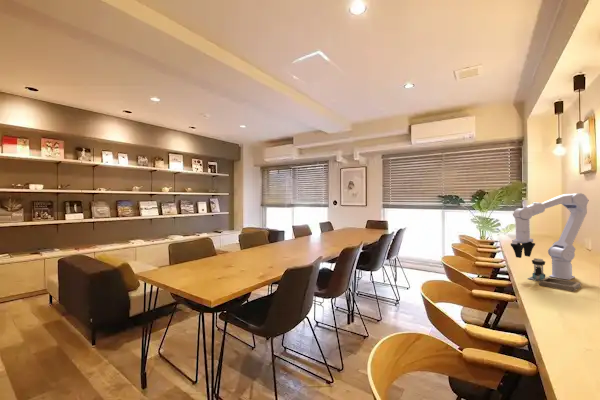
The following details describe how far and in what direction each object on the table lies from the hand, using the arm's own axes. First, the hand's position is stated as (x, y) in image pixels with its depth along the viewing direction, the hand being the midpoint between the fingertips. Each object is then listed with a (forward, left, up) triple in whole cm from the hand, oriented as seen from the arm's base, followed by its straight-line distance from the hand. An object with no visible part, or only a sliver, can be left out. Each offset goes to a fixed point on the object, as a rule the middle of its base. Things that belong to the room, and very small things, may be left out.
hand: (523, 256), depth 149 cm
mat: (0, +6, -10) cm, 12 cm away
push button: (0, +7, -10) cm, 13 cm away
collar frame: (+6, +16, -10) cm, 20 cm away
